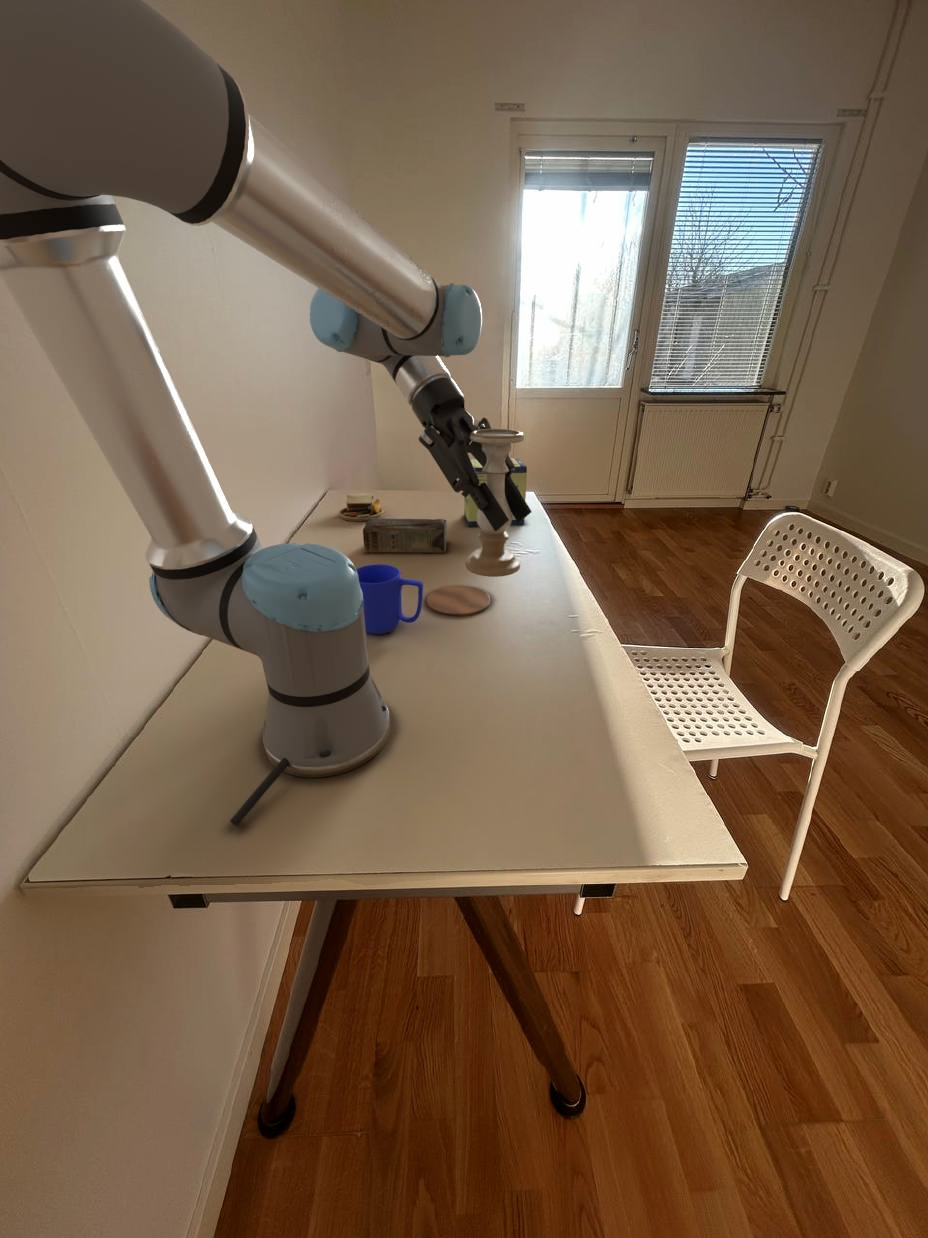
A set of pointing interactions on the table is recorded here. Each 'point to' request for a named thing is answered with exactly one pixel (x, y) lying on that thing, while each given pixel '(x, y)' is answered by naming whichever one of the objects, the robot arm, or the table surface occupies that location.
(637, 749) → the table surface
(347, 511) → the toy sandwich meal
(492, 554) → the candle holder
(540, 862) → the table surface
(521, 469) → the protein box
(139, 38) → the robot arm
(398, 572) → the mug
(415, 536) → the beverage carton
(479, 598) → the coaster
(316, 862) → the table surface
